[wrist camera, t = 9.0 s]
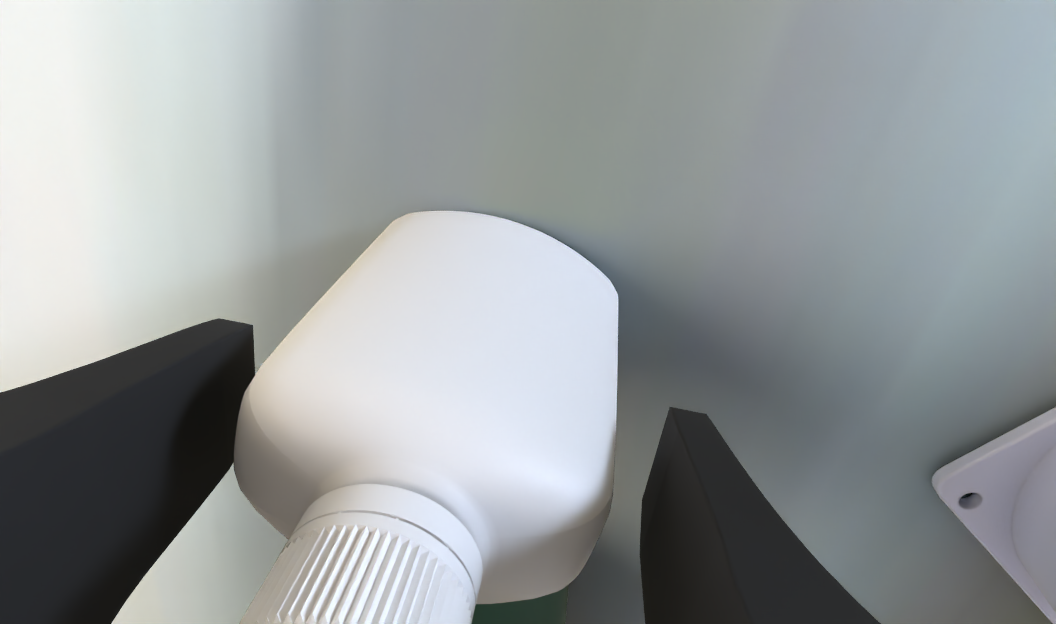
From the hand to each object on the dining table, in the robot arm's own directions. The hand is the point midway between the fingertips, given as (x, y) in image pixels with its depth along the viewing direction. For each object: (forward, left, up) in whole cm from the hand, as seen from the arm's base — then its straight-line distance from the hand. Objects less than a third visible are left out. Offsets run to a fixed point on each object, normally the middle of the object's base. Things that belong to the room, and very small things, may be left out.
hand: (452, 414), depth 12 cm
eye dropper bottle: (0, 0, -6) cm, 6 cm away
